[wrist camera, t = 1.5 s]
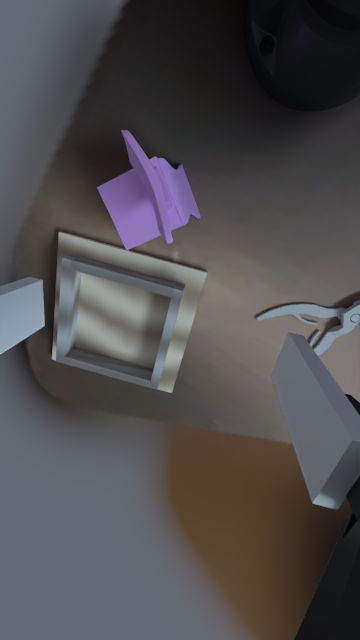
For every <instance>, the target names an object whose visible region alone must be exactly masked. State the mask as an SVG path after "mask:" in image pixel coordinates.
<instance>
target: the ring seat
mask: <svg viewBox="0 0 360 640" xmlns="http://www.w3.org/2000/svg"><path fill="white" fill-rule="evenodd" d="M206 275H207V271H204V270H201V269H197V268H193V267H190V266H186V265H182V264H179V263H175V262H172V261H168V260H164V259H161V258H157V257H153V256H150V255H146V254H142V253H139V252H135V251H132V250H126V249H124V248H121V247H117V246H113V245H110V244H106V243H102V242H99V241H95V240H92V239H88V238H84V237H81V236H77V235H73V234H70V233H66V232H59V236H58V255H57V274H56V293H55V312H54V331H53V350H52V360H56V361H57V362H60V363H64V364H67V365H71V366H74V367H78V368H82V369H85V370H89V371H92V372H96V373H99V374H103V375H106V376H110V377H113V378H117V379H121V380H124V381H128V382H131V383H135V384H138V385H142V386H145V387H149V388H152V389H156V390H157V389H159V390H162V391H166V392H169V393H172V391H173V387H174V384H175V380H176V377H177V374H178V370H179V367H180V363H181V360H182V357H183V353H184V350H185V347H186V343H187V340H188V336H189V333H190V330H191V326H192V323H193V319H194V316H195V313H196V309H197V306H198V303H199V299H200V296H201V292H202V289H203V286H204V282H205V279H206Z"/></svg>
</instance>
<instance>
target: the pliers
mask: <svg viewBox="0 0 360 640" xmlns="http://www.w3.org/2000/svg"><path fill="white" fill-rule="evenodd" d="M298 313H304V314H309V315H313V316H316V317H320V318H329V317H336V316H337V317H338V318H339V320H340V321H341V325H339V326H334V327H333V328H331V329H329V330H328V331H326V333H325V334H324V336H323V337H322V338H321V340H320V341H319V342H318V344H317V345H316V346H315V347H314V348H313V350H314V351H315V353H316V354H317V356H320V355H321V354H322V353H323V352H325V351H326V350H327V349H328V348H329V347H330V346H331V344H332V343H333V341H334V340H335V338H337V337H339V336H342V335H344V334H346V333H348V332H350V331H352V330H353V328H354V327H355V325H358V324H359V325H360V300H358V301H355V302H353V305H352V306H350V307H349V308H347V309H345V308H343V307H340V308H325V307H322V306H319V305H316V304H309V303H298V304H289V305H284V306H280V307H277V308H274V309H271V310H269V311H267V312H265V313H263V314H261V315H259V316H257V317H256V318H257V320H258V321H260V320H263V319H267V318H271V317H275V316H279V315H286V314H292V315H294V316H296V317H297V318H298V319H299V320H301V321H303V322H305V323H308V324H314V325H317V322H312V321H308V320H305V319H303V318H301V317H300V315H299V314H298ZM319 333H320V331H319V330H318V331H317V332H316V333H315V334H314V335H313V336H312V338H311V339H310V342H309V344H310V346H311V347H312V344H313V341H314V339H315V338H316V337H317V336H318V334H319Z"/></svg>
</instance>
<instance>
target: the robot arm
mask: <svg viewBox="0 0 360 640" xmlns="http://www.w3.org/2000/svg"><path fill="white" fill-rule="evenodd" d="M246 41H247V48H248V53H249V58H250V61H251V64H252V67H253V69H254V72H255V74H256V76H257V78H258V80H259V81H260V83H261V84H262V86H263V87H264V89H265V90H266V91H267V92H268V93H269V94H270V95H271V96H272V97H273V98H274V99H276V100H277V101H278V102H280V103H282V104H283V105H285V106H288V107H290V108H293V109H296V110H301V111H322V110H327V109H331V108H334V107H337V106H339V105H342V104H344V103H346V102H348V101H350V100H352V99H353V98H355V97H357V96H358V95H360V0H248V3H247V11H246ZM44 326H45V321H44V301H43V281H42V280H41V279H36V278H31V277H27V278H24V279H21V280H18V281H15V282H12V283H9V284H6V285H3V286H0V354H2V353H3V352H5V351H6V350H8V349H10V348H11V347H13V346H14V345H16V344H17V343H19V342H20V341H22V340H24V339H25V338H27V337H28V336H30V335H31V334H33V333H34V332H36V331H37V330H39V329H41V328H42V327H44ZM271 379H272V382H273V385H274V388H275V391H276V394H277V397H278V400H279V403H280V406H281V409H282V412H283V415H284V418H285V421H286V424H287V427H288V430H289V433H290V437H291V440H292V443H293V446H294V448H295V452H296V455H297V458H298V461H299V464H300V467H301V470H302V473H303V476H304V479H305V482H306V485H307V488H308V491H309V494H310V498H311V500H312V503H313V504H317V505H321V506H325V507H329V508H333V509H338V508H339V507H340V505H341V504H342V503H343V501H344V500H345V498H346V497H347V499H348V501H349V504H350V506H351V508H352V510H353V511H352V513H351V514H350V516H349V517H348V518H347V519H346V521H345V522H344V523H343V525H342V526H341V528H340V529H339V530H338V531H337V533H338V534H339V535H340V537H339V539H338V541H337V544H336V546H335V548H334V550H333V552H332V555H331V557H330V559H329V562H328V564H327V566H326V568H325V571H324V573H323V575H322V577H321V580H320V582H319V584H318V586H317V589H316V591H315V593H314V596H313V598H312V600H311V602H310V605H309V607H308V609H307V611H306V614H305V616H304V618H303V621H302V623H301V625H300V628H299V630H298V632H297V634H296V637H295V639H294V640H360V403H359V402H358V401H357V400H356V399H354V398H353V397H352V396H351V395H348V394H344V393H343V391H342V390H341V388H340V387H339V386H338V384H337V383H336V381H335V380H334V378H333V377H332V376H331V374H330V373H329V371H328V370H327V368H326V367H325V366H324V364H323V363H322V361H321V360H320V359H319V357H318V356H317V354H316V353H315V351H314V350H313V349H312V347H311V346H310V344H309V343H308V342H307V340H306V339H305V337H304V336H302V335H298V334H293V333H288V334H287V337H286V339H285V342H284V344H283V347H282V350H281V352H280V355H279V357H278V360H277V362H276V365H275V367H274V370H273V373H272V375H271Z"/></svg>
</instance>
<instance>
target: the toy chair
mask: <svg viewBox="0 0 360 640" xmlns="http://www.w3.org/2000/svg"><path fill="white" fill-rule="evenodd" d="M121 132H122V134H123V137H124V139H125V143H126V147H127V151H128V156H129V161H130V163H131V165H132V167H133V169H131V170H129V171H127V172H126V173H124V174H122V175H120V176H118V177H116V178H114V179H112V180H110V181H108V182H106V183H104V184H102V185H100V186H99V187H97V189H98V191H99V193H100V195H101V197H102V199H103V202H104V204H105V206H106V208H107V210H108V212H109V214H110V216H111V218H112V220H113V222H114V224H115V226H116V229H117V231H118V233H119V236H120V238H121V240H122V242H123V244H124V246H125V249H126V250H129V249H131V248H133V247H135V246H138V245H140V244H143V243H144V242H147V241H149V240H151V239H153V238H156V237H158V236H160V235H162V236H163V237H164V239H165V240H166V241H167V244H170V243H171V242H173V238H172V234H171V230H174V229H176V228H178V227H181V226H183V225H185V224H187V223H188V221H189V216H190V214H192V215H194V216H195V217H196V218H198V219H200V218H201V216H200V213H199V211H198V208H197V205H196V202H195V199H194V197H193V194H192V191H191V188H190V186H189V183H188V180H187V177H186V174H185V172H184V169H183V166H182V164H180V165H179V166H178V168H177V169H176V170H175V169H174V168H172V167H171V165H170V164H169V163H168V162H167V161H166V160H165V159H164V158H157V157H156V156H155V157H153V158H151V159H148V157H147V156H146V154H145V153H144V151H143V150H142V148H141V147H140V146H139V144H138V143H137V141H136V140H135V139H134V137H133V136H132V135H131V133H130V132H129V131H128V130H121Z"/></svg>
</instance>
